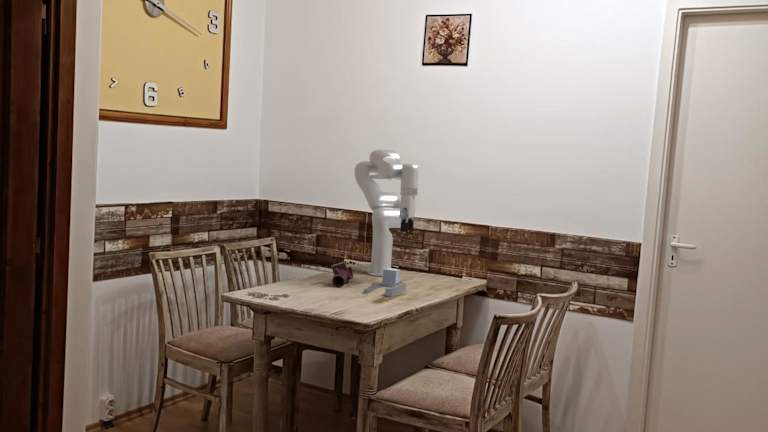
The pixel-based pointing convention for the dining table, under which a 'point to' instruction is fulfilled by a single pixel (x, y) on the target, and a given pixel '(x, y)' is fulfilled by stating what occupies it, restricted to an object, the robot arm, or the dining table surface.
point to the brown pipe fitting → (341, 274)
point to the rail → (390, 290)
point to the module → (390, 276)
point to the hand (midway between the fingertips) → (406, 230)
